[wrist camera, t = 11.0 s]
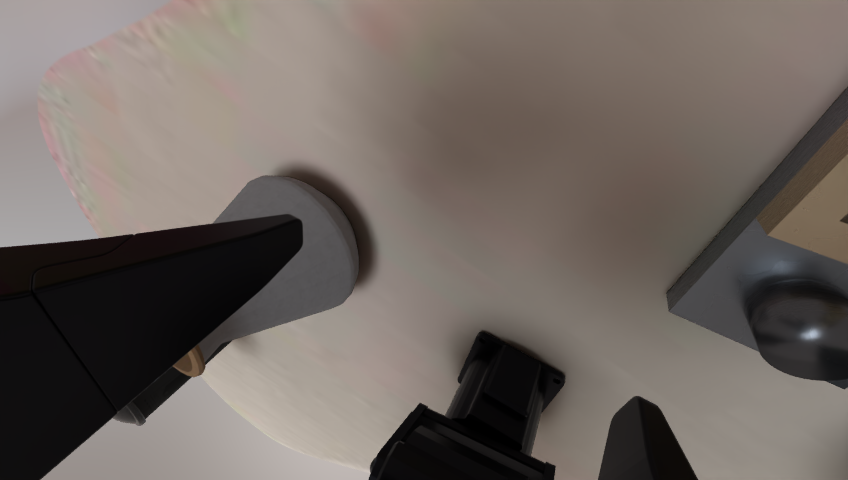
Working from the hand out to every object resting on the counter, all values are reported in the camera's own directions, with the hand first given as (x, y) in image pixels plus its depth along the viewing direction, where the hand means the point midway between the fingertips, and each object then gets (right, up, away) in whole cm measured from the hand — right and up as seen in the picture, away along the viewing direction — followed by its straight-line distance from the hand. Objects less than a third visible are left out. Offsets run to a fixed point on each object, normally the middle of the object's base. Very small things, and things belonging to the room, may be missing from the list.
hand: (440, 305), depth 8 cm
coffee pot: (-13, +1, +23) cm, 26 cm away
